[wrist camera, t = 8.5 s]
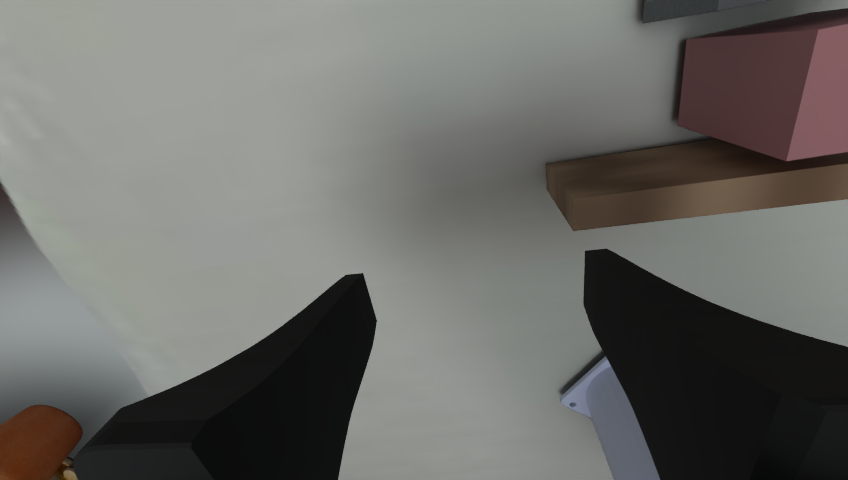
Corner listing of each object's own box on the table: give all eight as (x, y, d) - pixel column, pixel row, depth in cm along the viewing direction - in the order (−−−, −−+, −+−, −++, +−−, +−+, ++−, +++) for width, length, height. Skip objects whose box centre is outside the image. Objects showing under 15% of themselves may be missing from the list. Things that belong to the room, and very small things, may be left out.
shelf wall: (937, 106, 17) (1125, 127, 12) (923, 138, 18) (1097, 169, 13) (545, 164, 20) (573, 199, 15) (546, 189, 21) (573, 230, 16)
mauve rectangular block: (810, 12, 16) (1031, -14, 10) (788, 106, 18) (964, 134, 12) (686, 38, 17) (818, 29, 11) (677, 125, 19) (786, 161, 12)
